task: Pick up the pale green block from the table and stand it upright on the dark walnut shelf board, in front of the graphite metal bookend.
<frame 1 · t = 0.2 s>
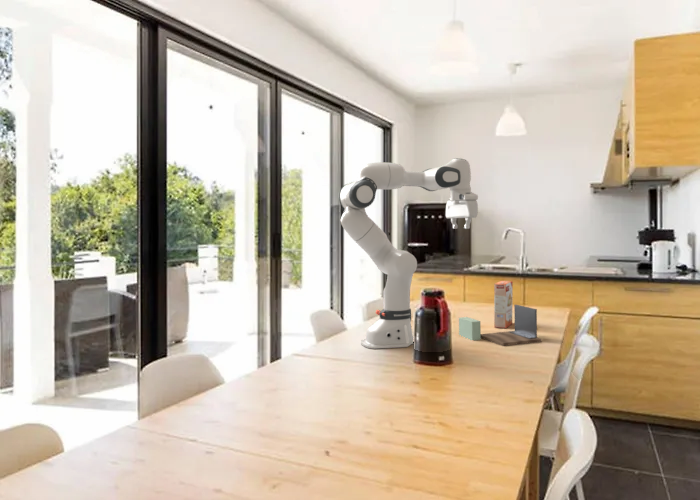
hand: (461, 228, 226), 47 cm above the table, fingers open, 8 cm apart
pale green block: (469, 337, 225), on the table
bookend: (525, 337, 222), resting on shelf board
shelf board: (509, 339, 220), on the table
cracker box: (503, 326, 249), on the table
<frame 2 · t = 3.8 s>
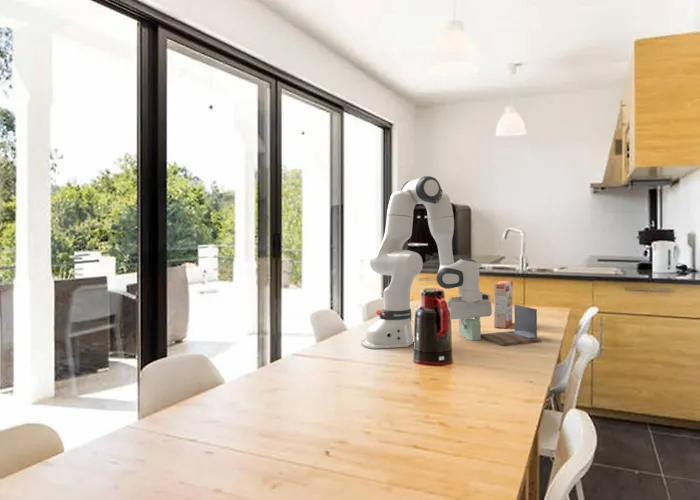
hand: (469, 328, 225), 4 cm above the table, fingers closed on pale green block, 4 cm apart
pale green block: (469, 337, 225), on the table, touching gripper
everything else where it was.
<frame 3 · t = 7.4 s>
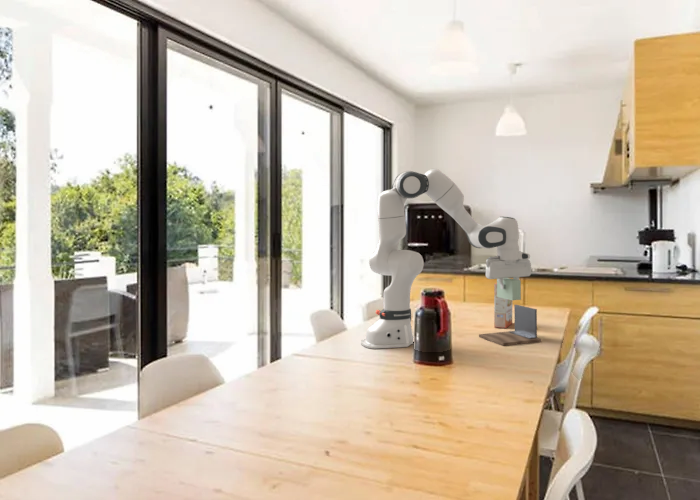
hand: (508, 288, 219), 22 cm above the table, fingers closed on pale green block, 4 cm apart
pale green block: (508, 298, 219), point 17 cm above the table, touching gripper
everything else where it was.
when the fingers open (7 cm above the table, at t = 11.3 s): pale green block drops 1 cm, resting on shelf board.
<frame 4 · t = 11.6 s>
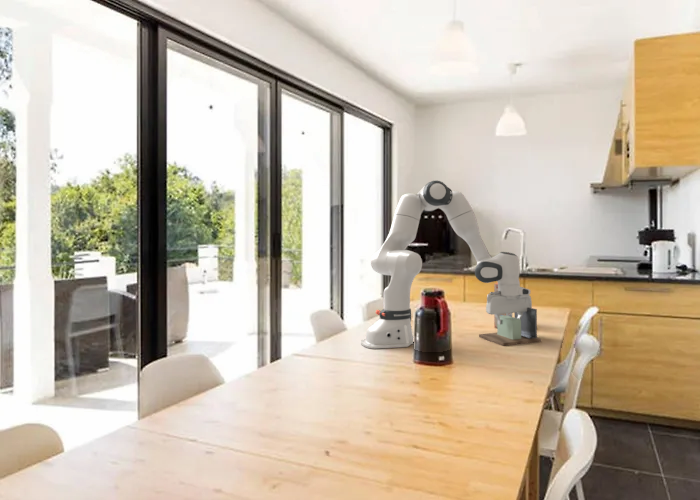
hand: (509, 323, 219), 7 cm above the table, fingers open, 7 cm apart
pale green block: (509, 336, 220), point 1 cm above the table, touching shelf board
everything else where it was.
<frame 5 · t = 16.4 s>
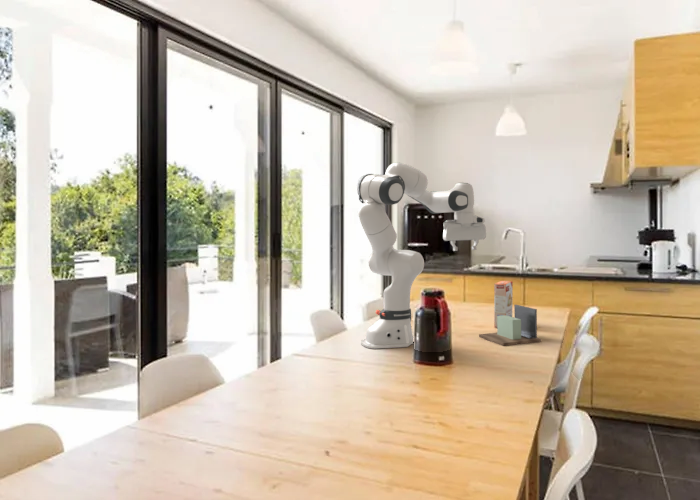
hand: (464, 250, 234), 37 cm above the table, fingers open, 8 cm apart
nothing on the table moved.
at the end: pale green block inside the target area on the shelf board (0.1 cm from its centre), point 1.2 cm above the shelf board's base; pale green block tilted 0°; the gripper is holding nothing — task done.
